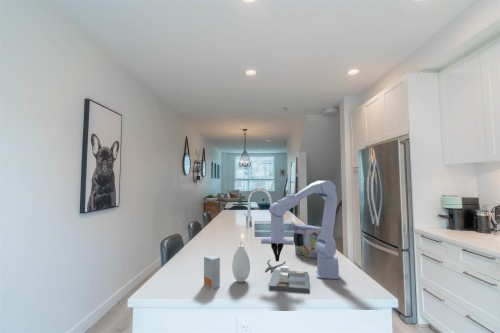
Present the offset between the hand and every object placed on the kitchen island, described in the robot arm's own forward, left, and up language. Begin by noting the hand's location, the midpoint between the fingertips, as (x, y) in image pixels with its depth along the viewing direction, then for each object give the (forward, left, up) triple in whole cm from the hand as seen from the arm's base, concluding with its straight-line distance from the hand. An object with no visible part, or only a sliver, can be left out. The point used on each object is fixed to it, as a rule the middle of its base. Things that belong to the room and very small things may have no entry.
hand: (277, 260), depth 114 cm
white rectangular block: (-3, +5, -7) cm, 9 cm away
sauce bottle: (+16, +4, -9) cm, 18 cm away
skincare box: (+27, +11, -9) cm, 30 cm away
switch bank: (-5, +1, -9) cm, 10 cm away
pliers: (+3, -19, -9) cm, 21 cm away
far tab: (-3, -4, -7) cm, 8 cm away
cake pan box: (-14, -41, -9) cm, 44 cm away
